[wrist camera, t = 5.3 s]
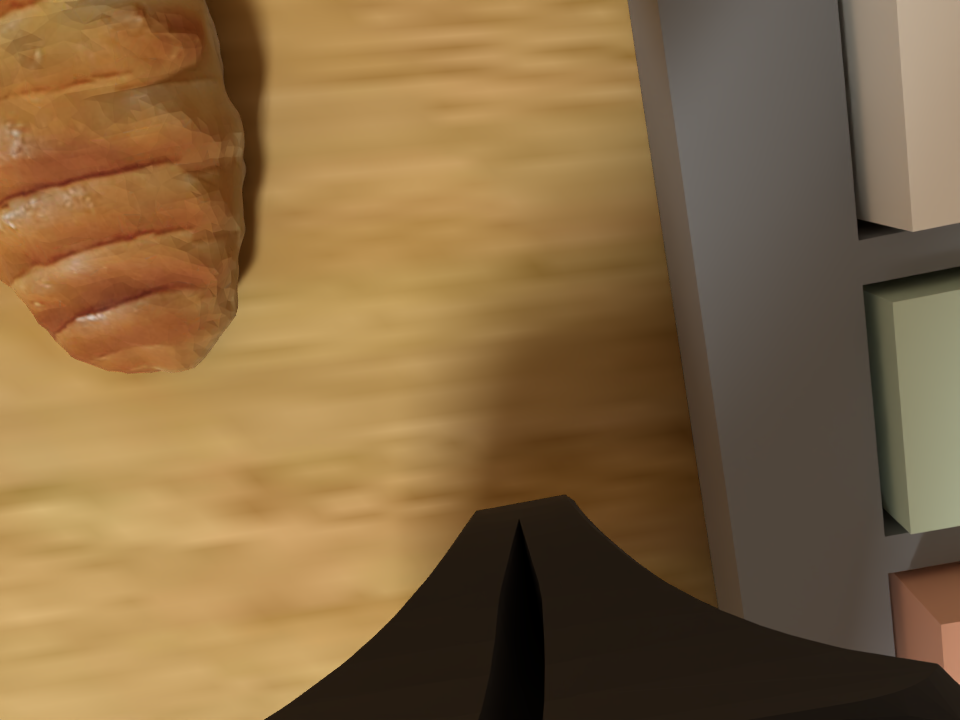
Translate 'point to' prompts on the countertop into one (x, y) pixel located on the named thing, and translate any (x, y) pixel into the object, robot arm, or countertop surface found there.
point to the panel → (778, 311)
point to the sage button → (917, 395)
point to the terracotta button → (927, 615)
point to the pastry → (120, 178)
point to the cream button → (903, 109)
